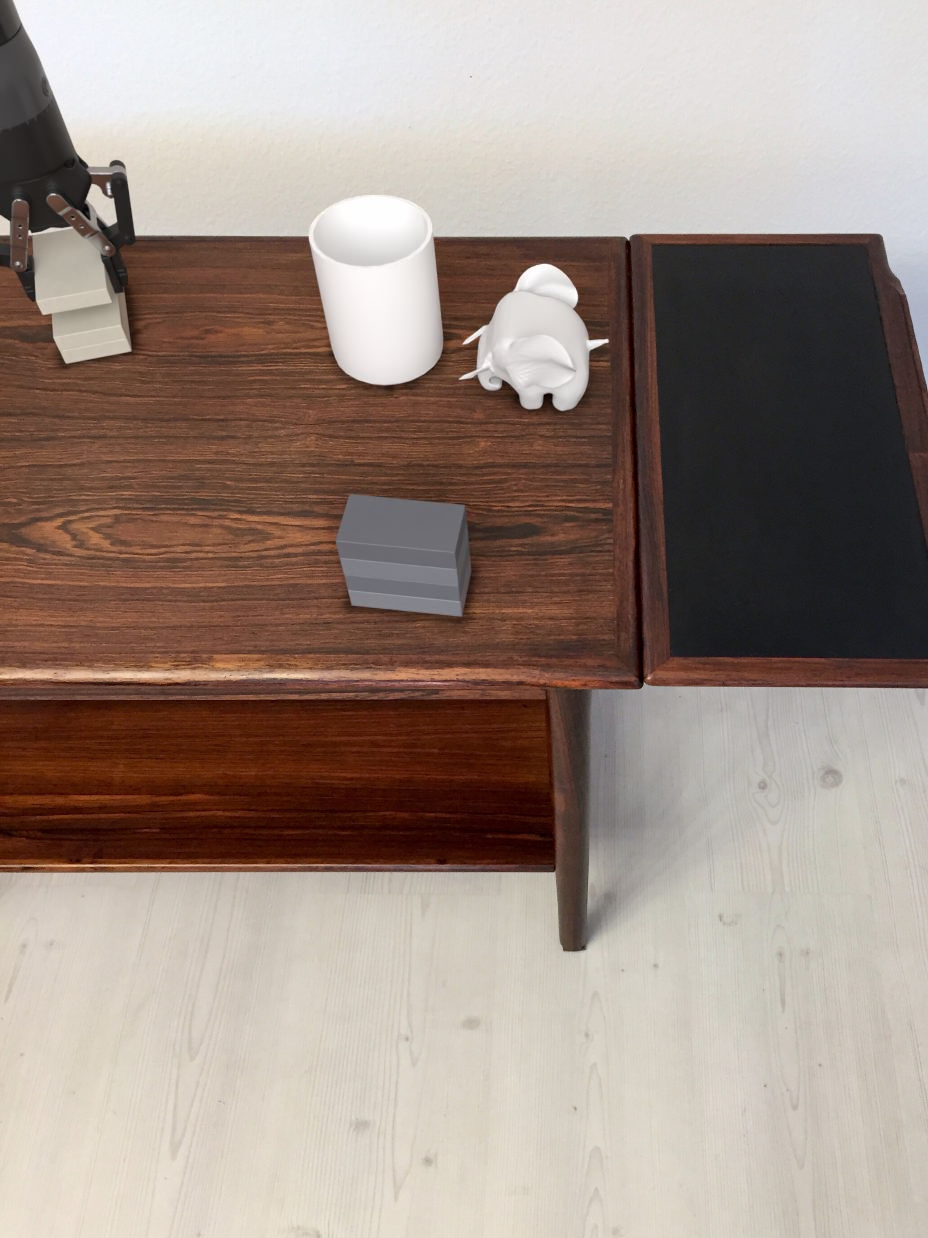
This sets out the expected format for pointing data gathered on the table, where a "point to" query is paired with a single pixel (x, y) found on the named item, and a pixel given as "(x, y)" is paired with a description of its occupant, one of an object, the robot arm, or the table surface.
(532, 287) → the elephant figurine
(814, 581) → the table surface
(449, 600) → the grey rectangular block
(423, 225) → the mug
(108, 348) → the cream rectangular box
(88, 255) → the off-white rectangular slab
